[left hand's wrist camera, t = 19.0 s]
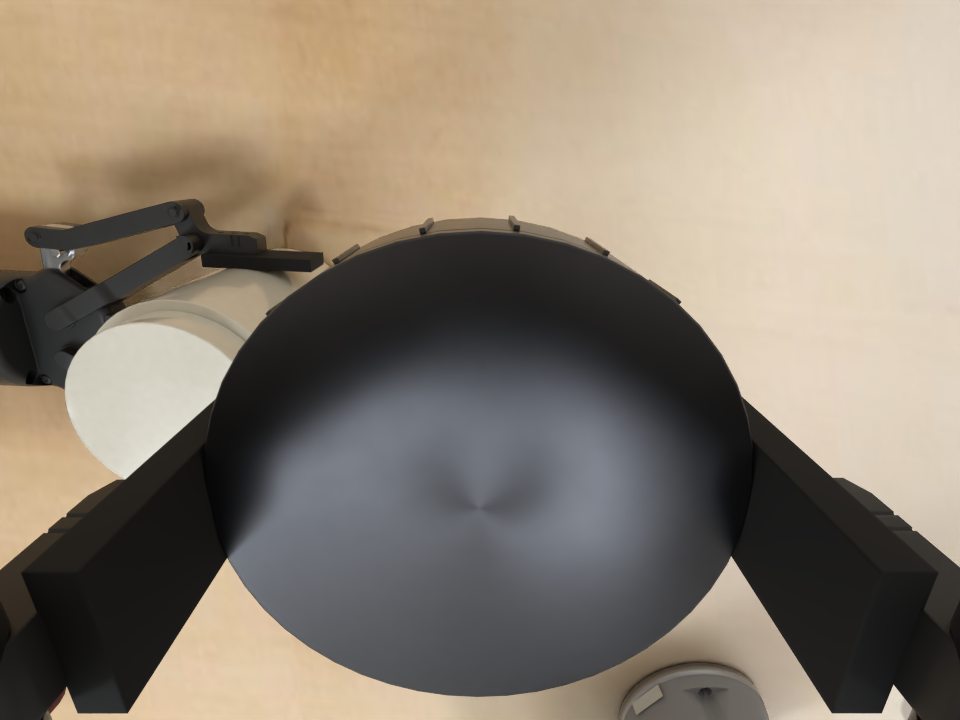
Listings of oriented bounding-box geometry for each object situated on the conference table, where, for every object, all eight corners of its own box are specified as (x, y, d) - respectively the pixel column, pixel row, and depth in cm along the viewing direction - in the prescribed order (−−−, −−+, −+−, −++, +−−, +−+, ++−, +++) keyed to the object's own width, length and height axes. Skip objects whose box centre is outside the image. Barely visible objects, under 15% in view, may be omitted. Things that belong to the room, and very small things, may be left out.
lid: (681, 149, 10) (735, 145, 8) (728, 576, 14) (773, 651, 12) (168, 288, 11) (93, 318, 9) (344, 651, 15) (321, 733, 13)
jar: (268, 389, 42) (139, 529, 26) (200, 278, 39) (4, 360, 23) (377, 346, 41) (311, 465, 25) (316, 227, 38) (196, 276, 22)
